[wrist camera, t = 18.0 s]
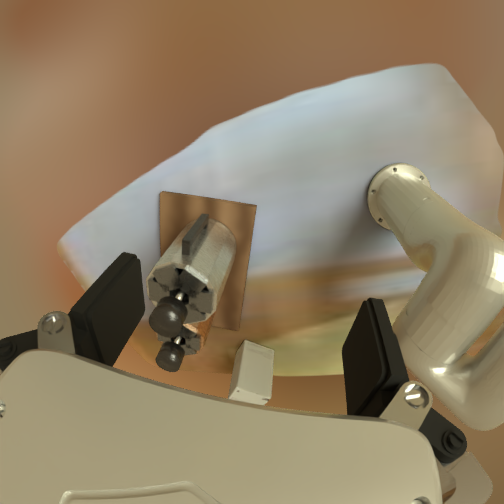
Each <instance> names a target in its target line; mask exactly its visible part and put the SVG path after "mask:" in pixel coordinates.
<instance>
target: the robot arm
mask: <svg viewBox="0 0 504 504" xmlns="http://www.w3.org/2000/svg"><path fill="white" fill-rule="evenodd" d="M393 168H395V169H394V170H393ZM420 176H421V177H420ZM373 189H374V191H373V192H372V190H373ZM367 202H368V207H369V210H370V213H371V215H372V216H373V218H374V220H375V221H376V222H377V223H378V224H379V225H381V226H382V227H384V228H386V229H388V230H392V231H393V233H394V235H395V236H396V238H397V239H398V241H399V242H400V244H401V246H402V247H403V249H404V251H405V252H406V254H407V255H408V257H409V258H410V260H411V261H412V262H413V264H414V265H415V266H417V267H418V268H419V269H421V270H423V271H425V272H427V274H426V275H425V277H424V278H423V280H422V281H421V284H420V285H419V287H418V288H417V290H416V291H415V293H414V294H413V295H412V297H411V298H410V300H409V301H408V303H407V304H406V305H405V307H404V308H403V310H402V311H401V313H400V314H399V316H398V317H397V319H396V320H395V322H394V324H393V326H391V323H390V320H389V317H388V314H387V311H386V308H385V305H384V302H383V300H382V299H375V298H369V299H368V300H367V301H363V303H362V305H361V308H360V310H359V312H358V314H357V317H356V319H355V321H354V323H353V326H352V328H351V330H350V332H349V334H348V336H347V339H346V341H345V343H344V345H343V348H342V358H343V368H344V378H345V389H346V402H347V415H340V414H329V413H319V412H309V411H300V410H292V409H284V408H277V407H270V406H264V405H258V404H252V403H247V402H241V401H236V400H231V399H226V398H221V397H216V396H212V395H208V394H203V393H199V392H195V391H191V390H187V389H183V388H179V387H176V386H172V385H168V384H164V383H161V382H158V381H154V380H151V379H148V378H144V377H141V376H138V375H135V374H132V373H129V372H126V371H123V370H120V369H117V368H114V367H113V365H114V363H115V362H116V360H117V358H118V356H119V355H120V353H121V351H122V349H123V348H124V346H125V345H126V343H127V341H128V340H129V338H130V336H131V335H132V333H133V331H134V330H135V328H136V326H137V325H138V323H139V321H140V320H141V318H142V317H143V315H144V312H145V303H144V294H143V285H142V275H141V264H140V259H138V258H137V256H136V255H135V254H130V253H126V252H123V253H121V254H120V256H119V257H118V258H117V259H116V260H115V261H114V262H113V263H112V264H111V265H110V266H109V267H108V268H107V269H106V270H105V271H104V272H103V274H102V275H101V276H100V277H99V278H98V279H97V280H96V281H95V282H94V283H93V284H92V286H91V287H90V288H89V289H88V290H87V291H86V292H85V293H84V295H83V296H82V297H81V298H80V299H79V300H78V301H77V303H76V304H75V305H74V306H73V307H72V308H71V311H70V312H69V314H66V313H64V312H61V311H53V312H50V313H47V314H46V315H44V316H43V317H42V318H41V319H40V321H39V323H38V329H36V330H32V331H29V332H25V333H21V334H18V335H14V336H10V337H6V338H4V339H1V340H0V504H484V503H485V502H486V501H487V500H488V498H489V497H490V495H491V493H492V489H493V486H492V482H491V480H490V478H489V477H488V475H487V474H486V472H485V471H484V469H483V468H482V467H481V465H480V464H479V462H478V461H477V460H476V458H475V457H474V455H473V454H472V453H471V452H469V453H467V451H466V448H467V441H466V437H465V435H464V434H463V432H462V431H460V429H458V428H457V427H456V426H454V425H453V424H452V423H451V422H449V421H448V420H446V419H445V418H444V417H443V416H442V415H440V414H439V413H438V412H436V411H435V410H434V409H433V408H431V405H432V402H433V400H432V395H431V393H432V394H433V395H435V397H437V398H438V399H439V400H440V401H441V402H442V403H443V404H444V405H445V406H446V407H447V408H448V409H449V410H450V411H451V412H452V413H453V414H454V415H455V416H456V417H457V418H458V419H459V420H460V421H461V422H463V423H464V424H465V425H467V426H469V427H471V428H473V429H476V430H480V431H485V430H491V429H493V428H496V427H498V426H499V425H501V424H502V423H504V322H503V323H502V325H501V326H500V327H499V328H498V330H497V331H496V332H495V333H494V335H493V336H492V337H491V338H490V340H489V341H488V342H487V343H486V344H485V345H484V347H483V348H482V349H481V350H480V351H479V352H478V353H477V354H476V355H475V356H471V355H469V354H467V353H466V351H467V350H468V349H469V348H470V347H471V346H472V345H473V344H474V342H475V341H476V340H477V339H478V338H479V336H481V335H482V334H483V332H484V331H485V330H486V329H487V327H488V326H489V325H490V324H491V322H492V321H493V320H494V318H495V317H496V316H497V314H498V313H499V312H500V310H501V309H502V308H503V306H504V241H503V240H502V239H500V238H499V237H498V236H496V235H495V234H493V233H492V232H490V231H488V230H486V229H485V228H483V227H481V226H479V225H477V224H476V223H474V222H473V221H471V220H470V219H468V218H467V217H466V216H464V215H463V214H462V213H460V212H459V211H458V210H457V209H456V208H454V207H453V206H452V205H450V204H449V203H448V202H447V201H446V200H444V199H443V198H442V197H441V196H439V195H438V194H437V193H436V192H434V191H433V190H432V189H431V187H430V184H429V181H428V179H427V178H426V176H425V175H424V174H423V173H422V172H421V171H420V170H419V169H417V168H416V167H414V166H412V165H409V164H406V163H395V164H391V165H388V166H386V167H385V168H383V169H382V170H380V171H379V172H378V173H377V174H376V175H375V177H374V178H373V180H372V182H371V183H370V186H369V189H368V195H367ZM379 218H380V219H379ZM406 368H407V369H408V370H409V371H410V372H411V373H412V374H413V375H414V376H415V377H416V378H417V379H418V380H419V381H420V382H421V383H422V384H421V383H419V382H416V381H409V378H408V374H407V370H406Z"/></svg>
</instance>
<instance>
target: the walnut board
mask: <svg viewBox="0 0 504 504" xmlns="http://www.w3.org/2000/svg"><path fill="white" fill-rule="evenodd" d="M256 207H257V205H252V204H246V203H240V202H234V201H228V200H221V199H215V198H208V197H201V196H195V195H188V194H180V193H173V192H166V191H162V192H161V193H160V249H161V257H162V256H163V254H164V253H165V252H166V250H167V249H168V248H169V247H170V245H171V244H172V243H173V241H174V240H175V239H176V238H177V236H178V235H179V234H180V233H181V231H182V230H183V229H184V228H185V226H186V225H187V224H189V223H190V222H192V221H194V220H196V219H198V218H199V217H200V215H201V214H202V213H203V214H209V218H211V219H215V220H217V221H219V222H221V223H223V224H224V225H226V226H227V227H228V228H229V229H230V230H231V232H232V233H233V235H234V237H235V240H236V245H237V249H236V254H235V260H234V262H233V265H232V268H231V271H230V273H229V276H228V279H227V281H226V284H225V287H224V290H223V292H222V295H221V298H220V301H219V304H218V306H217V310H216V314H215V316H214V319H213V322H212V325H211V326H215V327H220V328H225V329H230V330H235V331H238V330H239V325H240V318H241V311H242V304H243V297H244V290H245V283H246V277H247V270H248V263H249V256H250V249H251V242H252V235H253V228H254V221H255V214H256Z"/></svg>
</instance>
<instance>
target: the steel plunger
mask: <svg viewBox="0 0 504 504" xmlns="http://www.w3.org/2000/svg"><path fill="white" fill-rule="evenodd" d="M184 294H185V292H184V291H182V290H181V289H180V290H179V291H178V293H177V295H176V297H171V296H166V297H163V298H161V299H160V301H159V302H158V304H157V305H156V307H155V309H154V310H153V312H152V314H151V315H150V317H149V324H150V326H151V328H152V329H153V330H154V331H155V332H156V333H157V334H159V335H161V336H163V337H167V338H173V337H176V336H177V335H178V334H179V333H180V330H181V328H182V326H183V324H184V322H185V319H186V317H187V315H188V310H187V307H186V306H185V304H184V303H183V302H182V301H181V300H182V298H183V296H184Z"/></svg>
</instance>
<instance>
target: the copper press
mask: <svg viewBox="0 0 504 504" xmlns="http://www.w3.org/2000/svg"><path fill="white" fill-rule="evenodd" d="M216 310H217V309H216ZM215 314H216V311H215V312H214V313H213V314H212V315H211V316H210V317H209V318H208V319H207V320H206V321H202V322H197V323H192V324H185V323H184V324H183V326H182V328H181V330H180V333H179V335H181V336H182V339H181V341H180V343H179V345H180V346H181V347H182V348H183V349H184V351H185V355H192V354H197V353H198V352H199V351H200V350H202V349H203V347H204V345H205V342H206V339H207V336H208V333H209V330H210V328H211V325H212V322H213V319H214V316H215ZM156 337H157V338H158V341H160V342H161V343H162V345H163V343H164V342H167V341H170V342H174V341H175V339H176V337H177V336H176V337H173V338H167V337H163V336H161V335H159V334H157V333H156Z"/></svg>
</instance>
